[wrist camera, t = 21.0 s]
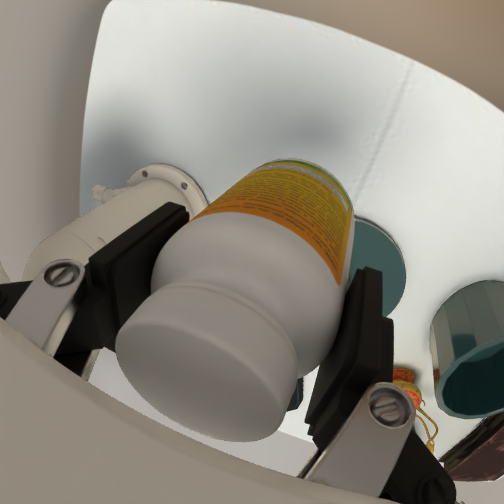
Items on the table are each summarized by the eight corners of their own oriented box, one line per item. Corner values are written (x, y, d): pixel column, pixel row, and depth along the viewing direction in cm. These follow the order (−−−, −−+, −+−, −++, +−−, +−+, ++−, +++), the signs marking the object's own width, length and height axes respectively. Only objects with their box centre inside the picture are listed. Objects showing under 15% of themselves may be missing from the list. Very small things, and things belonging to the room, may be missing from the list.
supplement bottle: (226, 163, 14) (54, 279, 6) (349, 151, 12) (307, 293, 4) (248, 268, 16) (142, 428, 8) (357, 269, 14) (321, 471, 6)
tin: (411, 348, 37) (412, 407, 29) (466, 264, 30) (487, 319, 22) (485, 371, 35) (494, 425, 27) (541, 300, 27) (566, 351, 20)
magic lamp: (343, 339, 40) (329, 408, 31) (450, 379, 37) (454, 443, 28) (323, 369, 44) (306, 433, 35) (423, 404, 41) (422, 464, 32)
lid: (265, 300, 41) (250, 329, 36) (297, 194, 33) (283, 214, 28) (372, 339, 38) (370, 372, 34) (427, 242, 30) (435, 271, 26)
